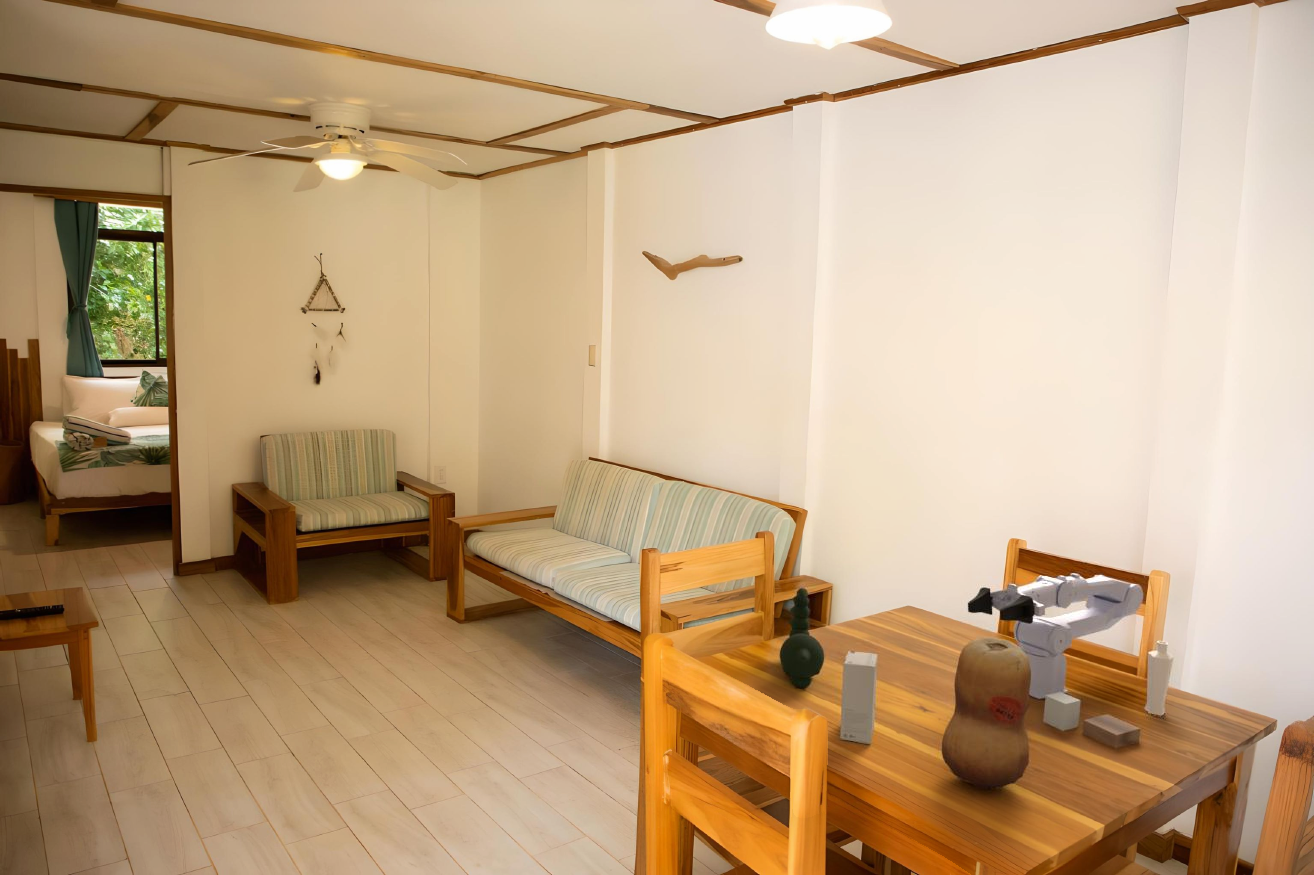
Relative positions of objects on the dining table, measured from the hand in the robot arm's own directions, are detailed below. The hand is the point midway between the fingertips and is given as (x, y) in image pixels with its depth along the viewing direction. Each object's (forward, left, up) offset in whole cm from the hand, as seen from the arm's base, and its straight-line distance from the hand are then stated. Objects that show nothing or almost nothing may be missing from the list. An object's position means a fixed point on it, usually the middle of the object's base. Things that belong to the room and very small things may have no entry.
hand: (985, 611), depth 180 cm
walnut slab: (-14, +20, -21) cm, 32 cm away
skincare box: (+31, -1, -21) cm, 38 cm away
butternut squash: (+24, +23, -21) cm, 40 cm away
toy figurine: (+24, -28, -21) cm, 42 cm away
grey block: (-10, +12, -21) cm, 26 cm away
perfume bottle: (-34, +16, -21) cm, 43 cm away
